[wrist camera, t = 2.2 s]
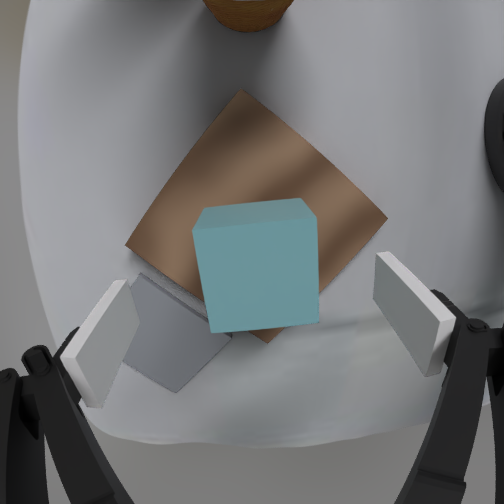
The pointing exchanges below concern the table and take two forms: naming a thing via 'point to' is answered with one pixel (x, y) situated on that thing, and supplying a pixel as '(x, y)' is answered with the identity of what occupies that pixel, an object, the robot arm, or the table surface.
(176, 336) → the mat
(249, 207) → the teal matte cube
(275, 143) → the brown square board
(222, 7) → the disposable coffee cup
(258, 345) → the table surface
